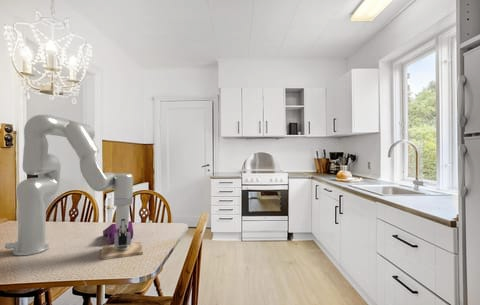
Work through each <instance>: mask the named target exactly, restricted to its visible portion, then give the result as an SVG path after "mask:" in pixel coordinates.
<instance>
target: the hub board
mask: <svg viewBox="0 0 480 305" xmlns="http://www.w3.org/2000/svg"><path fill="white" fill-rule="evenodd" d="M101 247H102V249H101V255H100V260H101V261H103V260H110V259H118V258H126V257H133V256H141V255H144V251H143V248H142V243H141V241H138V242H131V245H125V246H116V247H114V244H111V245H110V244H109V245H102V246H101Z"/></svg>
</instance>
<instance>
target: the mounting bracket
mask: <svg viewBox="0 0 480 305" xmlns="http://www.w3.org/2000/svg"><path fill="white" fill-rule="evenodd" d="M132 222H133V221H132V220H129V223H128V228H126V232H130V234H131V240H132V239H133V238H134V228H133V227H134V226H133V223H132ZM118 231H119V229H116V223H111V224H110V225H109V226H108V227H106V228H105V229H104V230H103V231H102V234H103V237H107V240H108V243H110V244H111V245H114V238H115V233H118Z"/></svg>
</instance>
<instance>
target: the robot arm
mask: <svg viewBox="0 0 480 305" xmlns="http://www.w3.org/2000/svg"><path fill="white" fill-rule="evenodd" d="M47 135H48V136H49V135H50V136H55V137H56V136H57V137H62V138H66V140H67V141H68V143H69V145H70V146H71V148H72V149H73V150H74V153H75V154H76V155H77V157H78V160H79V169H80V172H81V173H80V174H81V176H82V177H83V178H84V180H85V182H86V183H87V185H88V186H89V187H90V188H91V189H92V190H93V191H95V192H104V191H109V190H112V189H113V207H116V208H115V224H116V229H119V231H118V233H119V241H118V245H126V244H127V235H126V228H128V223H129V221H130V206H132V205H133V196H134V195H133V192H134V190H133V189H134V187H133V186H134V176H133V174H131V173H125V172H123V173H117V172H116V173H115V172H103V171H102V170H101V168H100V167H99V165H98V162H97V156H98V154H99V153H100V149H99V148H98V145H97V144H96V143H95V141H94V138H95V130H94V128H93V127H91V125H89V124H86V123H81V122H78V121H73V120H70V119H67V118H64V117H59V116H54V115H51V114H50V115H49V114H36V115H34V116H31V118H29V119H28V120H27V121H26V123H25V124H24V128H23V136H24V137H23V138H24V140H23V141H24V142H23V144H24V145H23V155H22V170H23V172H24V173H25V174H27V175H30V176H38V177H30V178H26V179H24V180H22V181H20V182H19V183H18V184H17V187H16V188H15V189H16V190H15V193H16V194H15V195H16V198H17V203H18V204H17V206H18V214H17V217H18V223H17V241H15V242H9V243H8V242H7V243H5V244H4V248H5V249H6V250H9V249H12V255H14V256H29V255H30V256H31V255H36V254H39V253H43V252H45V251H47V250H49V248H50V245H49V243H46V226H47V225H46V223H47V222H46V221H47V207H46V206H47V205H46V204H45V201H44V199H45V198H49V197H53V196H54V195H55V194H57V192H58V190H59V188H60V182H61V181H60V180H61V167H62V166H61V161H60V159H59V157H58V156H56V155H54V154H51V153H49V141H48V138H47V137H46V136H47Z"/></svg>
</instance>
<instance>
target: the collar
mask: <svg viewBox="0 0 480 305" xmlns="http://www.w3.org/2000/svg"><path fill="white" fill-rule="evenodd" d="M126 235H127V244H126V245H131V243H132V242H131V241H132V239H131V234H130V232H126ZM118 241H119V233H115V238H114V243H113V245H114V247H116V246H125V245H118Z"/></svg>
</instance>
